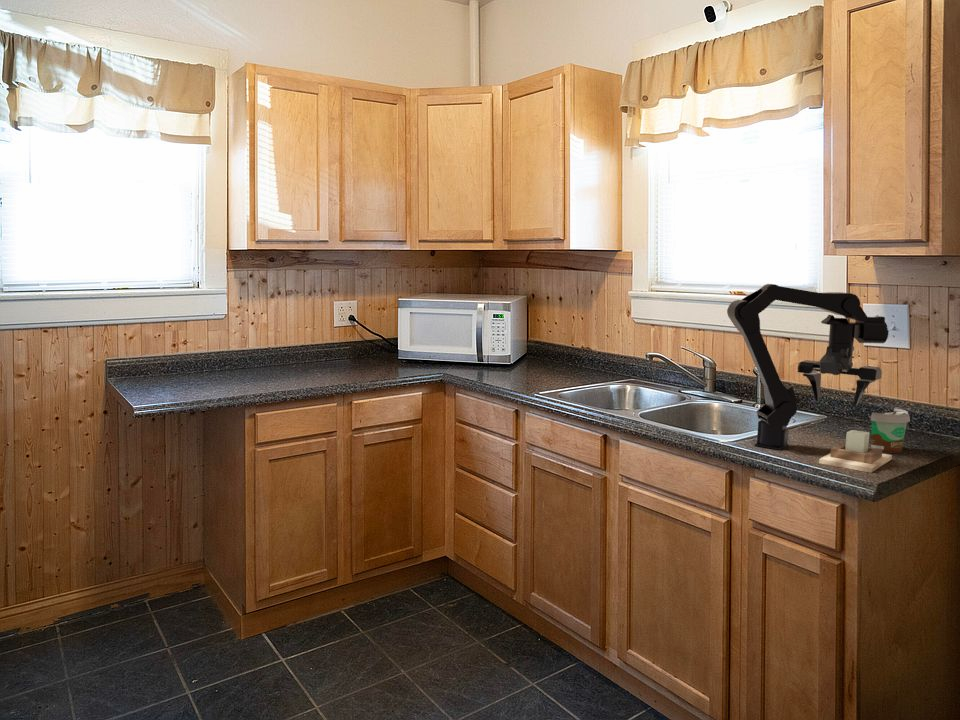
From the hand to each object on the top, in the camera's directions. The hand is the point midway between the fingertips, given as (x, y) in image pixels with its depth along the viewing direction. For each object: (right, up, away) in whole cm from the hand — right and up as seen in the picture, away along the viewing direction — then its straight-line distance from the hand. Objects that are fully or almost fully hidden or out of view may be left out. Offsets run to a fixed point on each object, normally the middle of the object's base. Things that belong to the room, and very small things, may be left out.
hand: (836, 403), depth 198 cm
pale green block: (0, -12, -11) cm, 17 cm away
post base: (-1, -13, -11) cm, 17 cm away
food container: (+14, -12, 0) cm, 19 cm away
